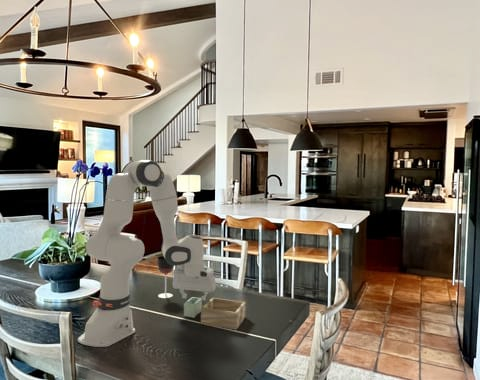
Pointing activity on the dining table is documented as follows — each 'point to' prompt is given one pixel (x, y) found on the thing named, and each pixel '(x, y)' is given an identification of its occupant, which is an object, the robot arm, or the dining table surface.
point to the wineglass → (165, 269)
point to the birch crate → (223, 313)
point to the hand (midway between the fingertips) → (193, 299)
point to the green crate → (192, 307)
